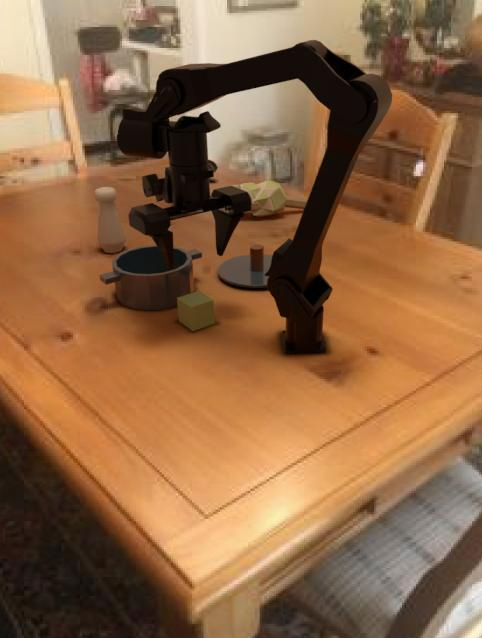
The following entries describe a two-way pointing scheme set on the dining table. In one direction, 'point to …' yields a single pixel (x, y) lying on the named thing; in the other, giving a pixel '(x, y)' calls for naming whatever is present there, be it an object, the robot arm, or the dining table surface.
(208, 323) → the block
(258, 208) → the decorative object
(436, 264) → the dining table surface
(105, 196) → the salt shaker
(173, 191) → the robot arm
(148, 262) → the pot
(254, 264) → the lid
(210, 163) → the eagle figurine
